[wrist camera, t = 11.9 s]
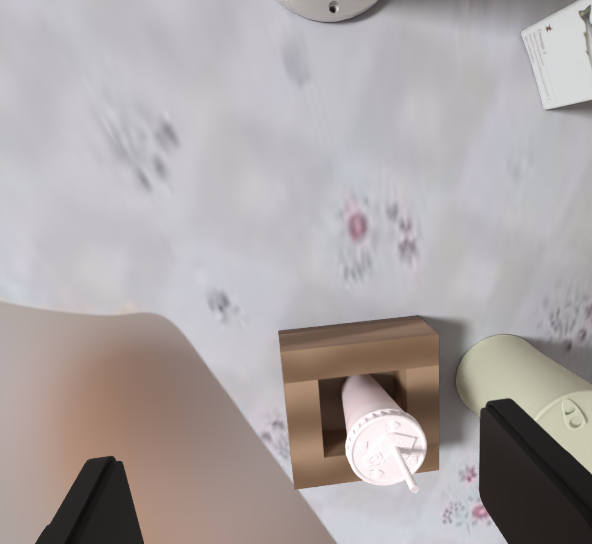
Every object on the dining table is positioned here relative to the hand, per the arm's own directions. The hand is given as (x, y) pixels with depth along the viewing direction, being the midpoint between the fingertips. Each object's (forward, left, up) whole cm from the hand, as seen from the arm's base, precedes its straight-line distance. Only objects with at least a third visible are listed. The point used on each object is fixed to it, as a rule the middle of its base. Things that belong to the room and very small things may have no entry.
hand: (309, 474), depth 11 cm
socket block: (+14, +7, -29) cm, 33 cm away
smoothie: (+14, +7, -28) cm, 32 cm away
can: (+15, +22, -29) cm, 40 cm away
